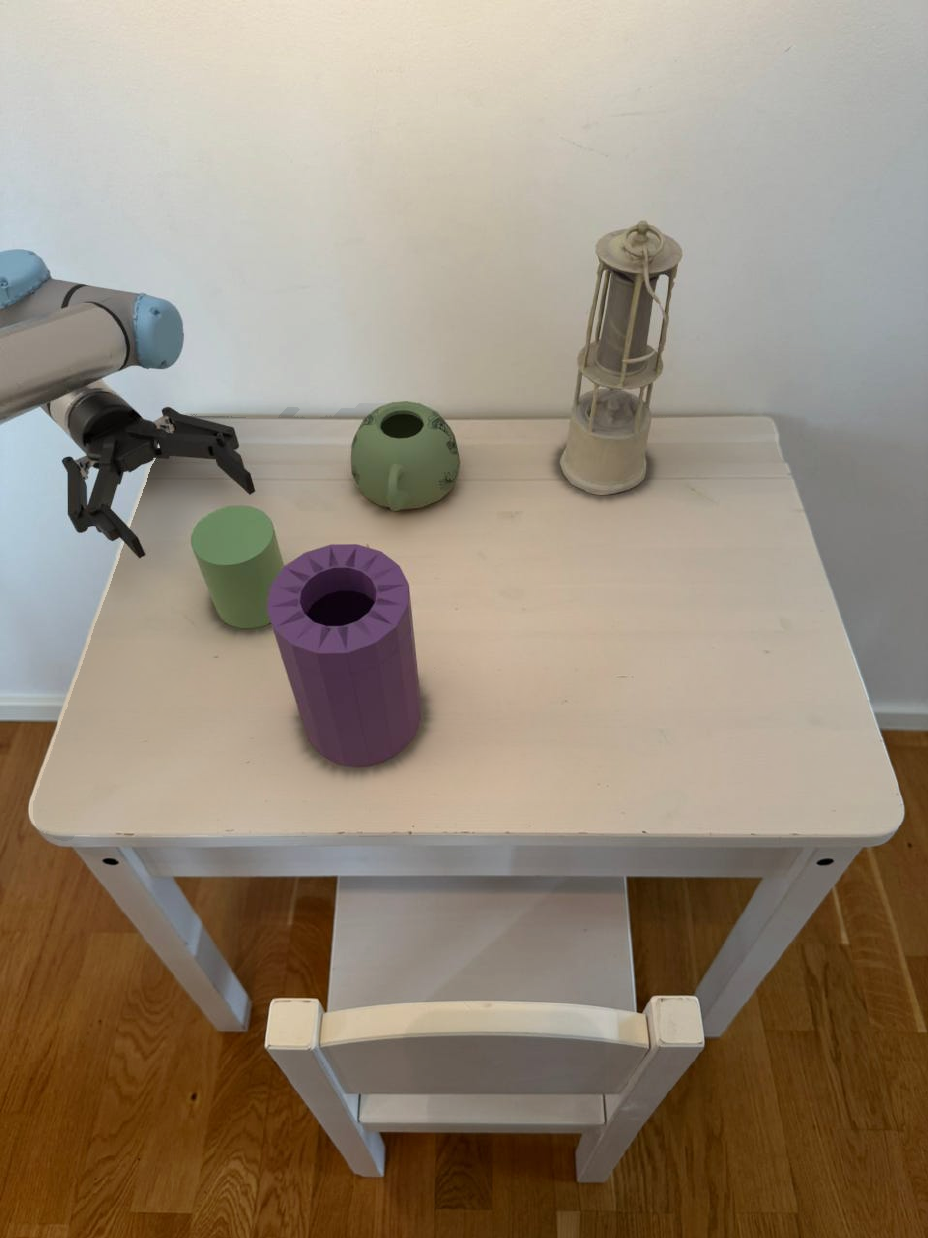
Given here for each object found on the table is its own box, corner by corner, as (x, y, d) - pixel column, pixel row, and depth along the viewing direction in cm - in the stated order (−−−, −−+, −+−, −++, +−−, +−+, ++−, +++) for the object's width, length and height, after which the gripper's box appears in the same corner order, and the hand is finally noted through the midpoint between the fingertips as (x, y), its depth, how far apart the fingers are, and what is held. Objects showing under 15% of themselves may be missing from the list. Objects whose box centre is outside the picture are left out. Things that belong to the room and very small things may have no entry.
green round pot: (361, 441, 107) (353, 383, 100) (465, 445, 106) (464, 387, 99) (339, 534, 97) (329, 477, 90) (453, 540, 96) (451, 483, 90)
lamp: (639, 436, 107) (685, 193, 83) (656, 510, 99) (711, 265, 75) (556, 438, 107) (578, 196, 83) (566, 512, 99) (593, 268, 75)
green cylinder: (200, 611, 91) (173, 547, 83) (245, 561, 95) (224, 495, 87) (262, 639, 88) (240, 575, 80) (305, 586, 93) (289, 520, 85)
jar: (298, 767, 79) (258, 654, 65) (310, 667, 86) (276, 545, 72) (419, 766, 79) (406, 651, 65) (422, 666, 86) (410, 542, 72)
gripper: (199, 399, 108) (298, 484, 98) (11, 495, 98) (100, 600, 88) (183, 348, 102) (286, 433, 93) (-19, 444, 92) (73, 551, 82)
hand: (196, 515), depth 90 cm, fingers open, 13 cm apart
